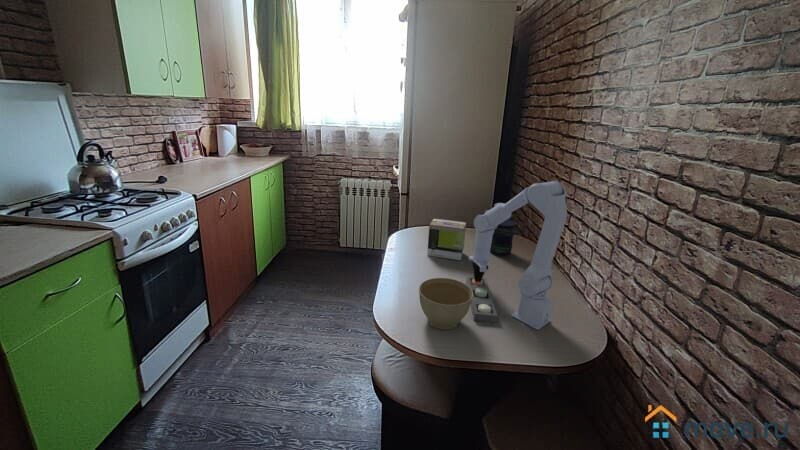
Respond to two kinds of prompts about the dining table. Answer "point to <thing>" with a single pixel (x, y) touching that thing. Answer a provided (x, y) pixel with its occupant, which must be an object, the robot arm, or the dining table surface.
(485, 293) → the sage button
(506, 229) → the storage jar
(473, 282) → the orange button
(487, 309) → the cream button
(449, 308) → the planter bowl
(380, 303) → the dining table surface
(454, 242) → the tea box
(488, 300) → the button panel
